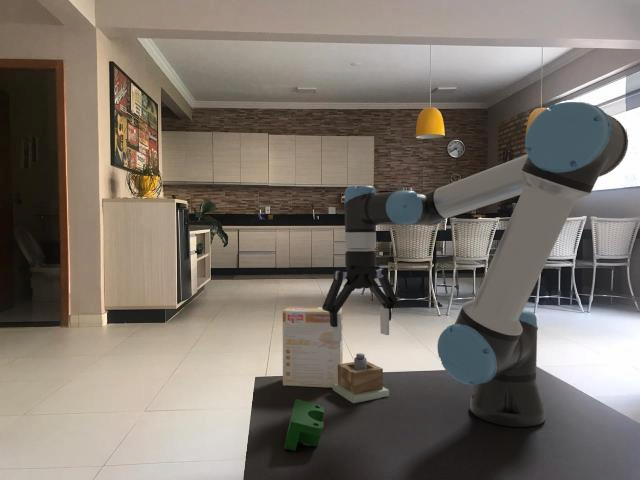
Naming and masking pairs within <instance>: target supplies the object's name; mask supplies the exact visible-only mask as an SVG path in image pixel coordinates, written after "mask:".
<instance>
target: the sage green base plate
mask: <svg viewBox="0 0 640 480" xmlns="http://www.w3.org/2000/svg"><path fill="white" fill-rule="evenodd" d="M353 359H354V361H353V362H354V370H356V371H358V370H364V369H367V361H368V360H367V357H365V354H364V353H356V356H355V357H354V358H353ZM332 390H333V391H334V392H335V393H336V394H339V395H340V396H341V397H342V398H344V399H346V400H347V401H348V402H349V401H350V403H352V404H357V403H361V402H366V401H372V400H377V399H378V400H379V399H383V398H388V397H390V389H388V388H387V387H384V386H383V389H381V390H376V391H371V392H365V393H360V394H353V393H351V392H349V391H348V390H346V389H345V388H343V387H341V386H340V385H338V383H335V384H333V388H332ZM382 397H383V398H382Z"/></svg>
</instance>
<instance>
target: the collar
mask: <svg viewBox="0 0 640 480" xmlns="http://www.w3.org/2000/svg"><path fill="white" fill-rule="evenodd" d="M383 369H384V368H382V367H380V366H378V365H376V364H374V363H371V362H370V361H368V360H367V369H364V370H358V371H356V370H354V361H352V362H344V363H343V364H338V385H340V386H341V387H343V388H345V389H346V390H348V391H349V392H351V393H353V394H360V393H365V392H371V391H376V390H381V389H383V387H384V386H383V385H384V384H383V382H384V370H383Z"/></svg>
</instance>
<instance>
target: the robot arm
mask: <svg viewBox="0 0 640 480" xmlns="http://www.w3.org/2000/svg"><path fill="white" fill-rule="evenodd" d="M628 136H629V135H628V133H627V131H626V129H625V126H623V125H622V123H621V122H620V121H619V120H618V119H616V118H615V117H613V116H611V115H609V114H607V112H605V111H604V110H603V109H602V108H601V107H599V106H597V105H594V104H591V103H589V102H583V101H579V100H564V101H560V102H557V103H555V104H552V105H550V106H549V107H547V108H545V109H543V110H542V111H541V112H540V113H538V115H537V116H535V118H534V119H533V120H532V122H531V124H529V127H528V129H527V132H526V135H525V139H524V142H525V143H524V146H525V149H526V154H524V155H521V156H520V157H517V158H514V159H512V160H508V161H506V162H504V163H501V164H498V165H496V166H493V167H491V168H488V169H485V170H483V171H480V172H477V173H474V174H472V175H469V176H467V177H465V178H462V179H458V180H456V181H454V182H451V183H448V184H445V185H443V186H440V187H438V188H435V189H433V190H430V191H428V192H425V193H417V192H416V191H413V190H402V189H400V190H396V191H389V192H380V193H379V192H376V188H375V187H374V186H373V185H372V186H371V185H352V186H348V187H347V188H346V189H345V190H344V202H343V203H344V204H343V208H344V227H345V228H344V229H345V230H344V234H345V235H344V236H345V237H344V238H345V239H344V243H345V245H344V247H345V249H347V250H346V251H345V253H344V254H345V255H344V257H345V258H344V259H345V263H344V264H345V271H341V270H335V271H334V272H333V279H332V280H333V281H332V283H331V284H330V288H329V290H328V292H327V295H326V297H325V300H324V301H323V304H322V306H321V307H322V309H323V310H325V311H328V312H329V313H330V325H331V326H332V327H333V339H334V340H336V341H342V340H341V313H338V311H339V310H340V308H343V305H344V304H345V302H347V299H348V298H349V297H350V295H351V294H352V292H354V291H355V289H356V290H360V289H369V290H370V291H371V292H372V294H373V295H374V296H375V298H377V301H379V302H380V304H381V305H382V307H380V310H379V311H380V312H379V313H380V314H379V315H380V319H379V321H380V327H379V328H380V334H381V335H384V336H389V335H390V322H391V321H392V309H394V308H395V306H398V304H399V301H398V299H397V295H396V293H395V292H394V290H393V289H394V288H393V287H392V285H391V282H390V280H389V278H388V270H387V269H386V268H378V269H376V265H377V252H376V250H375V249H376V248H377V232H376V231H377V226H389V225H391V226H395V225H396V226H398V225H399V226H426V227H427V226H429V227H430V226H436V225H440V224H441V223H443V222H444V221H445V220H447V219H448V218H449V219H450V218H451V217H455V216H459V215H461V214H464V213H467V212H470V211H474V210H477V209H480V208H483V207H486V206H489V205H492V204H496V203H500V202H502V201H505V200H509V199H511V198H512V199H513V198H515V197H517V196H519V198H518V201H517V203H516V205H515V207H514V209H513V212H512V213H511V217H510V218H509V221H508V223H507V225H506V227H505V229H504V232H503V234H502V237H501V239H500V241H499V243H498V244H497V245H498V246H497V247H496V250H495V252H494V255H493V257H492V260H491V261H490V263H489V264H488V265H489V266H488V267H487V270H486V272H485V275H484V277H483V279H482V280H481V284H480V286H479V289H478V291H477V293H476V294H475V298H474V299H471V300H468V301H465V302H464V303H463V305H462V307H461V309H460V311H459V313H458V316H457V318H456V321H454V324H449V325H448V326H447V327H446V328H445V329H444V330H443V331H442V332H440V335H439V337H438V340H437V355H438V358H439V359H440V361H441V365H442V367H443V368H444V370H445V371H446V372H447V374H448V375H449V376H450V377H452V378H453V379H454V380H456V381H458V382H459V383H461V384H464V385H469V386H474V387H473V392H472V394H471V396H470V405H469V406H470V407H469V409H470V412H471V413H472V414H473V415H474V416H475V417H477V418H479V419H481V420H483V421H485V422H489V423H491V424H494V425H495V424H496V425H499V426H506V427H513V428H528V427H529V428H530V427H535V426H538V425H541V424H542V423H544V422H545V420H546V408H545V405H544V403H543V401H542V397H541V393H540V390H539V387H538V382H537V356H538V355H537V353H538V347H537V346H538V345H537V344H538V342H537V341H538V329H539V327H538V324H537V323H538V322H537V321H538V320H537V316H536V314H535V313H534V312H533V311H531V310H525V307H526V305H527V303H528V301H529V299H530V296H531V294H532V292H533V290H534V288H535V286H536V284H537V282H538V280H539V277H540V276H541V274H542V272H543V269H544V267H545V265H546V263H547V261H548V259H549V257H550V255H551V252H552V251H553V249H554V246H555V245H556V244H557V243H556V242H557V240H558V238H559V236H560V234H561V232H562V230H563V228H564V226H565V223H566V222H567V221H568V220H567V219H568V217H569V215H570V214H571V212H572V209H573V208H574V205H575V203H576V202H577V201H578V200H580V199H582V198H584V197H586V196H589V195H590V194H591V193H592V191H593V188H594V186H595V185H596V183H597V181H598V179H599V177H600V178H601V177H602V176H605V175H607V174H608V173H611V172H612V171H613V170H614V169H616V168H617V167H618V166H619V165H620V164H621V162H623V160H624V159H625V157H626V156H627V151H628V149H629V147H628V145H629V138H628ZM376 277H377V278H378V281H379V283H380V286H381V288H382V289H381V288H380V286H379V283H377V281H376ZM344 280H346V281H345V283H344V285H343V281H344ZM342 285H343V286H342ZM341 287H343V288H342V289H341ZM340 289H341V291H340Z"/></svg>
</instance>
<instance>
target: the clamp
mask: <svg viewBox="0 0 640 480" xmlns="http://www.w3.org/2000/svg"><path fill="white" fill-rule="evenodd" d="M294 399H295V400H294V404H293V407H292V412H291V415H290V420H289V423H288V428H287V432H286V438H285V442H284V446H283V447H284V448H283V449H285V450H289V451H293V452H296V450H297V446H298V443H301V444H304V445H308V446H312V447H319V443H320V439H321V436H322V435H323V434H322V433H323V429H324V423H325V422H324V421H323V418H324V414H325V407H324V406H322V405H321V404H317V403H314V402H309V401H306V400H302V399H298V398H294Z"/></svg>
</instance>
